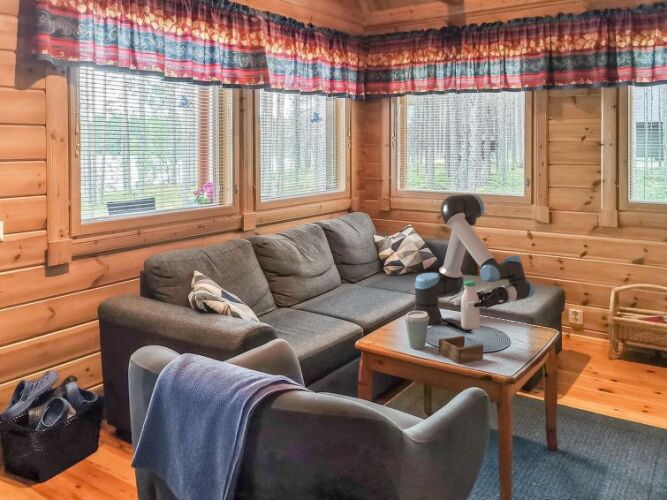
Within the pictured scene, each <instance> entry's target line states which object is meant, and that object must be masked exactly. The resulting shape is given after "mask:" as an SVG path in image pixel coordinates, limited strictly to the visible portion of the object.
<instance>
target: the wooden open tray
mask: <svg viewBox="0 0 667 500" xmlns="http://www.w3.org/2000/svg"><path fill="white" fill-rule="evenodd" d="M465 337H466V336H464V335H459V336H452V337H447V338H439V339H438V354H439V355H441V356H443V357H445V358H447V359H448V360H451V361H452V362H454V363H456V364H458V365H460V364H467V363H470V362H475V361H481V360H484V344H481V343H480V344H476V345H474V344H473V345H469V346H465V344H466V343H465Z"/></svg>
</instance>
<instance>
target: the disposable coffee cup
mask: <svg viewBox="0 0 667 500" xmlns="http://www.w3.org/2000/svg"><path fill="white" fill-rule="evenodd" d="M404 320H405V326H406V332H407V337H408V346H410V348H411V349H413V350H414V349H415V350H421V349H424V348H425V346H426V341H427V333H428V326H429V325H428V321H429V316H428V313H426V312H424V311H413V310H412V311H408V312H407V313H406V314H405V316H404Z"/></svg>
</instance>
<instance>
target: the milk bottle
mask: <svg viewBox="0 0 667 500" xmlns="http://www.w3.org/2000/svg"><path fill="white" fill-rule="evenodd" d="M463 290H464V291H463V293H462V295H461V297H462V298H461V304H460V322H461V325H460V326H461V328H462V329H463V330H464V329H466V330H477V329H479V328H480V326H481V322H480V321H481V317H480V316H481V315H480V314H481V313H480V311H481V310H480V308H481V307H478V308H473V309H469V310H467V305H466V303H469V302H474V301H478V300H479V298H478V295H477V293H476V281H475V280H470V279H469V280H464V289H463Z"/></svg>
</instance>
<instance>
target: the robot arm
mask: <svg viewBox="0 0 667 500" xmlns="http://www.w3.org/2000/svg"><path fill="white" fill-rule="evenodd" d="M484 212H485V205H484V202H483V199H482V197H480V196H479V195H477V194H475V193H467V194H454V195H450V196H447V197H446V198H445V199H443V201H442V203H441V205H440V217H441V219H442V221H443V223H444V224H445V225H446V227H447V228H449V229H451V233H450V236H449V241H448V246H447V249H446V254H445V257H444V262H443V265H442V266H440V267H439V270H438V273H436V272H428V273H427V272H424V273H421V274H418V275H417V276H416V278H415V283H414V308H413V310H412V311H424V312H426V313H428V316H429V321H428V326H434V325H440V323H443V316H442V313H441V309H440V306H439V303H440V302H439V301H440V299H443V298H448V297H455V296H457V295H459V294H460V293H462V291H463V290H464V289H465V287H464V282H465V280H464V276H463V273H462V271H461V269H462V265H463V261H464V257H465V252H466V251H467V252H468V253H469V254H470V256H471V257H472V259H473V260H474V261H475V263H476V264H477V265H478V267H479V268H480V270H479V275H480V278H481V280H482V281H484V282H485V283H496V282H499V281H503V280H504V281H505V280H507V281H508V284H506V285H501V286H496V287H494V288H492V290H491V291H486V292H484V290H479V291H477V292H476V293H477V295H478V298H479V300H478V301H474V302H469V303H466V305H467V310H469V309H473V308H478V307H480V308H485V309H488V308H492V307H494V306H497V305H498V306H499V305H505V304H506V303H507V304H510V303H511V302H516V301H522V300H527V299H529V298H532V297H533V296H534V294H535V293H536V288H535V285H534V284H533V282H532V281H530V280H527V277H526V273H525V271H524V267H523V263H522V260H521V258H520V256H519V255H512V256H507V257H505V258H503V259H502V262H498V260H497V259H495V257H494V255H493V254H492V252H490V250H489V249H488V247H487V245H485V243H484V242H483V241H482V239H481V238H480V237H479V235H478V233H476V231H475V230H474V229H473V227H474V226H476V223H477V219H479V218H481V217H482V216H483V215H484ZM461 298H462V296H460V297H455V298H454V299H453V302H454V306H457V305H461Z"/></svg>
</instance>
